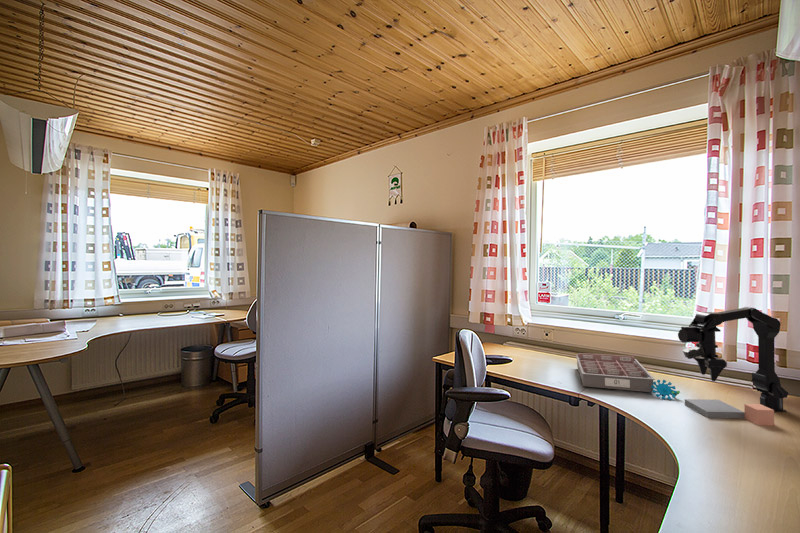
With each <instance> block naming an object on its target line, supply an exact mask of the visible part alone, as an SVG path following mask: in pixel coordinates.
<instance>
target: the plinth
mask: <svg viewBox="0 0 800 533" xmlns="http://www.w3.org/2000/svg"><path fill="white" fill-rule="evenodd" d="M684 405H685V406H686V407H687V408H690V409H691V410H693V411H695V412H697V413H698V414H699V415H702V416H703V417H705V418H706V419H745V411H743V410H740V409H739V408H737V407H735V406H733V405H730V404H728V403H726V402H724V401H722V400H720V399H701V398H700V399H694V398H693V399H692V398H691V399H690V398H688V399H687V398H685V399H684Z"/></svg>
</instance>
